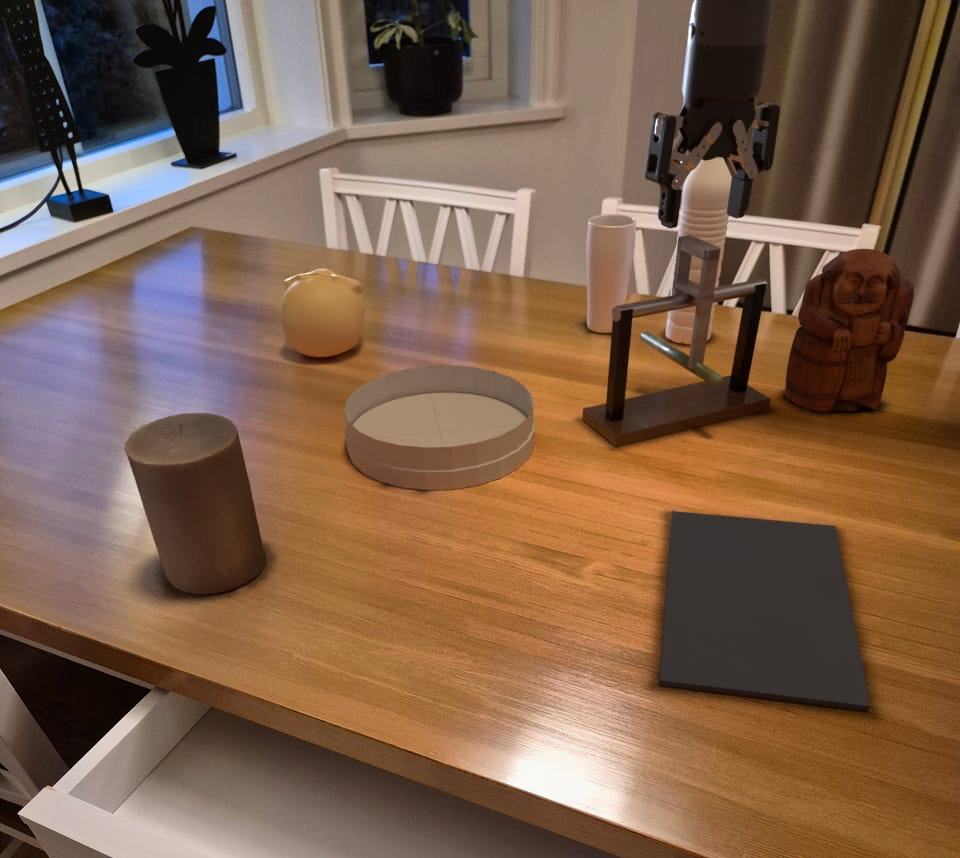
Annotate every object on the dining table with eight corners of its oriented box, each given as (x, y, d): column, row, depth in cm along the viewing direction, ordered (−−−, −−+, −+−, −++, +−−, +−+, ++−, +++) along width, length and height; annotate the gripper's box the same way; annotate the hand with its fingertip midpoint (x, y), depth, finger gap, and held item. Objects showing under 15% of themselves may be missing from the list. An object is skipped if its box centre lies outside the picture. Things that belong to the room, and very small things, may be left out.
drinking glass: (576, 333, 128) (581, 224, 118) (588, 317, 132) (595, 212, 123) (620, 338, 126) (630, 228, 116) (632, 322, 130) (642, 215, 121)
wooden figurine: (789, 412, 106) (824, 259, 95) (778, 391, 111) (810, 242, 99) (887, 413, 105) (934, 259, 94) (872, 391, 110) (915, 242, 99)
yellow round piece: (376, 335, 129) (368, 259, 122) (353, 367, 120) (343, 287, 113) (303, 332, 130) (291, 257, 123) (275, 363, 121) (260, 284, 114)
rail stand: (768, 409, 107) (794, 287, 97) (616, 447, 100) (627, 319, 91) (729, 385, 113) (749, 267, 103) (582, 419, 106) (589, 296, 96)
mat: (671, 515, 89) (672, 510, 88) (834, 530, 86) (835, 525, 86) (658, 685, 69) (659, 680, 69) (868, 711, 67) (870, 706, 66)
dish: (351, 499, 92) (345, 457, 89) (343, 410, 109) (338, 372, 106) (553, 479, 95) (554, 438, 92) (515, 395, 111) (515, 358, 108)
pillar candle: (282, 543, 86) (253, 402, 76) (240, 602, 79) (203, 454, 69) (193, 533, 88) (154, 394, 78) (144, 589, 81) (95, 443, 71)
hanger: (725, 387, 97) (747, 259, 89) (713, 389, 97) (734, 261, 88) (648, 339, 109) (660, 222, 100) (637, 342, 108) (648, 224, 99)
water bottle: (712, 345, 123) (743, 147, 107) (666, 344, 124) (690, 147, 108) (707, 323, 130) (735, 133, 113) (663, 322, 130) (685, 134, 114)
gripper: (688, 46, 77) (665, 239, 87) (814, 36, 81) (778, 221, 92) (642, 38, 82) (626, 221, 93) (763, 29, 86) (735, 205, 97)
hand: (702, 221), depth 92 cm, fingers open, 8 cm apart
